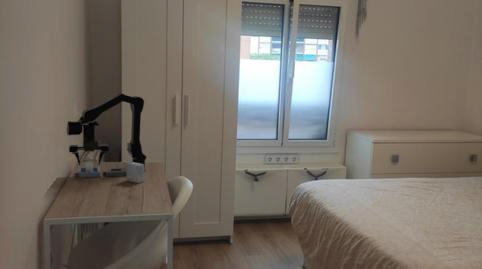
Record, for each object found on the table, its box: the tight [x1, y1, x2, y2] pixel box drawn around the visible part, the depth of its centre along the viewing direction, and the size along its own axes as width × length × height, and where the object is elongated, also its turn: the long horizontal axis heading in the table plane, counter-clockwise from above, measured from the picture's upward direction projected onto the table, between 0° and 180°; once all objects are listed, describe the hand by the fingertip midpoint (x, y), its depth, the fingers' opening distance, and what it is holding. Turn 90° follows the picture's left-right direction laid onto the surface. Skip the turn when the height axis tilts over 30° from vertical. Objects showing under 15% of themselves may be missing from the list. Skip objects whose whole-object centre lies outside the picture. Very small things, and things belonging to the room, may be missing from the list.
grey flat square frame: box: [104, 167, 127, 177], centre depth 227 cm, size 10×10×2 cm
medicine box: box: [126, 161, 145, 184], centre depth 214 cm, size 8×4×9 cm, turn 58°
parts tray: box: [78, 166, 101, 179], centre depth 223 cm, size 10×12×2 cm
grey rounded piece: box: [84, 157, 94, 172], centre depth 222 cm, size 4×4×8 cm
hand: (89, 165), depth 222 cm, fingers open, 9 cm apart
